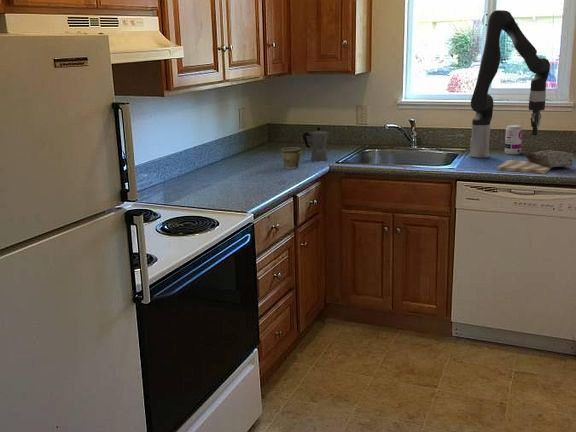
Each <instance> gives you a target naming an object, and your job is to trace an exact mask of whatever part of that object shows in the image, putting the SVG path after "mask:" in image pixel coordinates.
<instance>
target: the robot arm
mask: <svg viewBox="0 0 576 432" xmlns="http://www.w3.org/2000/svg"><path fill="white" fill-rule="evenodd" d="M502 31H504V32H505V33H506V34H507V35H508V36H509V38H510V39H511V42H512V45H513V47H514V49H515V50H516V52H517V53H518V54H519V55H520V57H521V58H522V59H523V60H524V63H525V64H526V66H527V69H528V70H530V72H532V74H534V78H533V79H531V81H530V90H529V97H528V98H529V99H528V110H529V111H532V113H531V114H530V116H531V117H530V125H531V126H530V127H531V128H532V130H531V131H532V132H531V135H532V136H534V137H535V136H538V129H539V127H540V124H541V119H542V113H541V111H544V110H545V109H546V99H547V98H546V97H547V96H546V95H547V93H546V91H547V81H548V78H549V75H550V72H551V63H550V61H549V60H548V58H545V57H542V58H541V57H539V56H538V54H537V53H538V51H537V50H538V49H536V47H535V46H534V45H533V44H532V43H531V41H530V40H529V39H528V38H527V37H526V35H525V34H524V33H523V31H522V30H521V28H520V26H519V25H518V23H517V22H516V20H515V18H514V17H513V15H512V13H511V12H510V11H508V10H505V9H504V10H502V9H501V10H500V9H495V10H494V11H492V12H491V13H490V15H489V17H488V19H487V28H486V37H485V42H484V45H483V46H484V47H483V52H482V56H481V59H480V64H479V65H480V66H479V70H478V73H477V74H478V75H477V79H476V84H475V87H474V89H473V93H472V96H471V100H470V108H471V109H472V111H474V112H475V116H474V117H473V118H472V120H471V121H472V124H471V138H470V139H469V157H471V158H489V155H490V154H489V151H490V137H491V136H490V135H491V134H490V133H491V121H492V119H493V111H494V99H493V97H492V96H491V94H489V89H490V86H491V84H492V82H493V80H494V78H495V77H496V75H497V73H498V70H499V67H500V62H501V56H502V54H501V46H500V39H501V34H502Z"/></svg>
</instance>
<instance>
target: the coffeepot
mask: <svg viewBox="0 0 576 432" xmlns="http://www.w3.org/2000/svg"><path fill="white" fill-rule="evenodd" d="M330 135H331V132H330V131H329V132H328V131H324V130H321V127H319V126H318V127H317V130H315V131H312V132H311V131H309V132H304V134H303V135H302V138H303V141H304V144H305V146H306V148H311V146H312V150H311V157H310V161H311V160H312V161H311V162H314V161H323V162H326V160H327V161H328V154H327V148H326V145H327V140H328V138H329V136H330ZM307 137H310V140H311V145H309V143H308V140H307Z"/></svg>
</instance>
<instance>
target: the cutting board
mask: <svg viewBox="0 0 576 432" xmlns="http://www.w3.org/2000/svg"><path fill="white" fill-rule="evenodd" d="M552 168H553V167H546V166H542V165H540V164H536V163H533V162H530V161H529V160H527V161H526V160H516V159H515V160H514V159H507V160H505V161H504V162H502V163H501V164H499V165H498V166H497V167H496V170H497V171H503V172H504V171H505V172H506V171H507V172H515V173H516V172H518V173H519V172H520V173H531V174H532V173H533V174H541V173H542V174H543V175H544V174H545V173H546V174H547V173H548V172H549V171H550V170H551V169H552Z"/></svg>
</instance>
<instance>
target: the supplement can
mask: <svg viewBox="0 0 576 432" xmlns="http://www.w3.org/2000/svg"><path fill="white" fill-rule="evenodd" d="M522 134H523V128H522V125H518V124H509V125H507V126H506V128H505V140H504V141H505V142H504V152H505V154H507V155H520V154H521V152H522V151H521V150H522V139H523V138H522V137H523V135H522Z"/></svg>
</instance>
